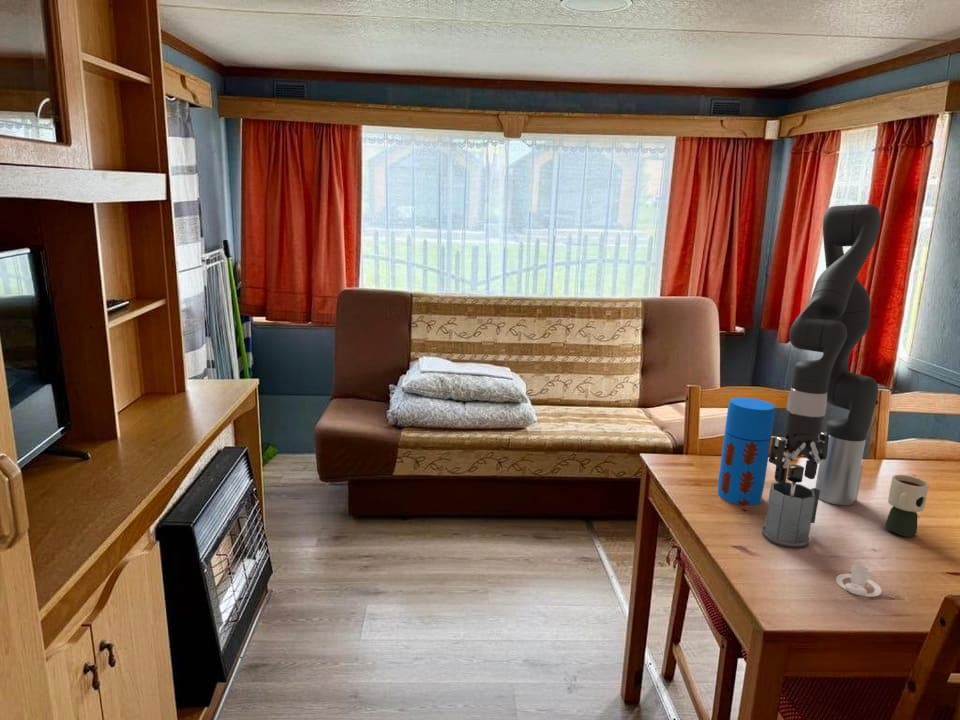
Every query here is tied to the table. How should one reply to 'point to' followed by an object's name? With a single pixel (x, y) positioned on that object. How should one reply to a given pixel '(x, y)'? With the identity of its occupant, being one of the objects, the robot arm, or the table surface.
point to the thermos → (745, 450)
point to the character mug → (906, 504)
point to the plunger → (795, 476)
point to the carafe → (790, 515)
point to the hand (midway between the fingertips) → (794, 480)
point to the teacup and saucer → (858, 581)
